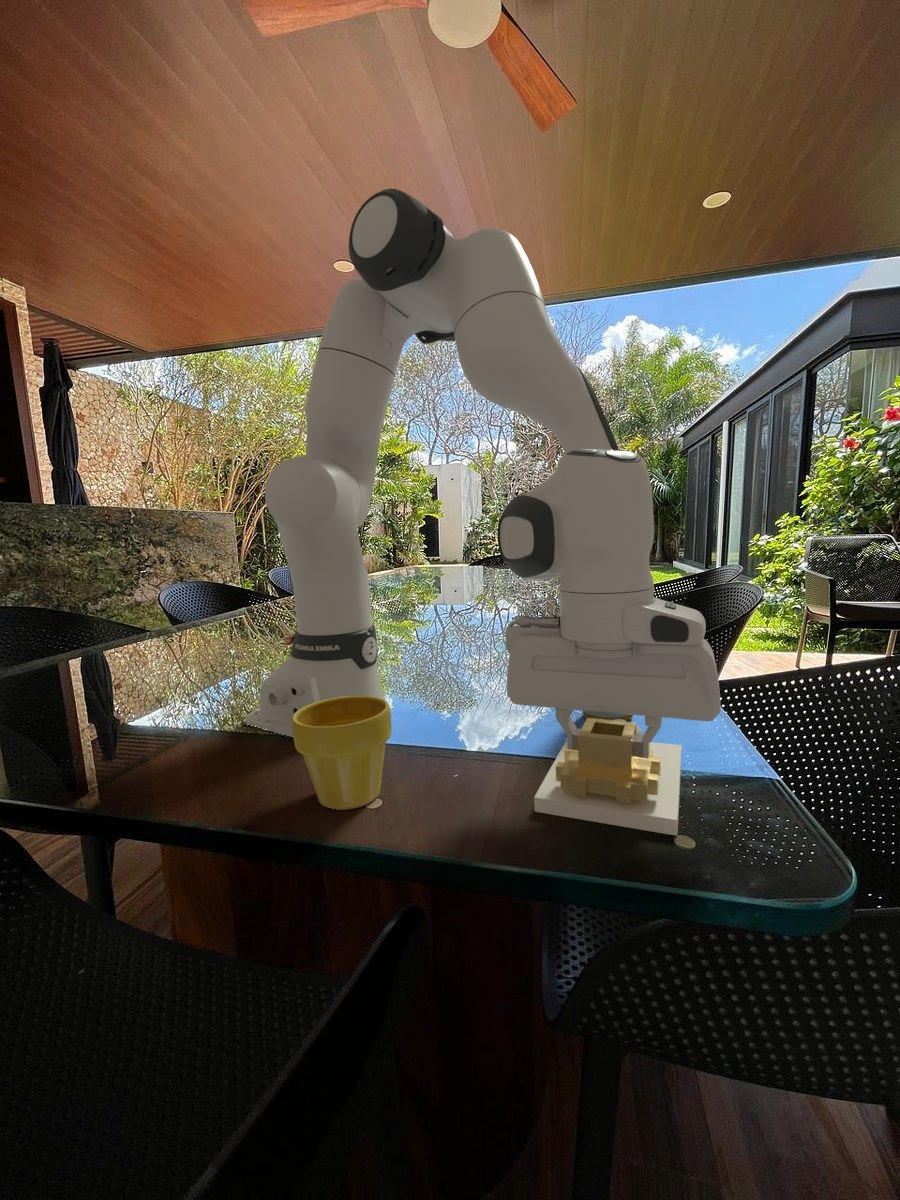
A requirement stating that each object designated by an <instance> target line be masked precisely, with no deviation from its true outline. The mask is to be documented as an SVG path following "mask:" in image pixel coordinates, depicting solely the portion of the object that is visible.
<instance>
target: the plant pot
mask: <svg viewBox="0 0 900 1200" xmlns="http://www.w3.org/2000/svg"><path fill="white" fill-rule="evenodd" d="M385 700H386V699H385ZM385 700H384V699H381V698H378V697H373V696H344V697H336V698H331V699H326V700H322V701H318V702H315V703H312V704H309V705H307V706H305V707H303V708H301V709H299V710H298V711H296V712H295V713H294V715H293V716H292V729H293V737H294V738H293V742H294V747H295V750H296V751H297V752H298V753H299V754H301V755H302V756H303V759H304V762H305V765H306V768H307V771H308V773H309V776H310V780H311V782H312V784H313V788H314V790H315V793H316V796H317V800H318V802H319V804H320V805H322V807H324V806H325V807H324V808H326V807H327V809H329V808H331V809H330V810H334V809H336V811H346V810H347V811H348V809H349V810H354V809H358V808H361V807H364V806H366V805H368V804H371V803H372V802H373V801H375V800H376V799H377V798H378V796H379V795H380V792H381V786H382V777H383V769H384V762H385V761H384V760H385V754H386V753H385V752H386V743H387V742H388V740H389V739H390V738H391V736H392V714H391V706H390V703H389V702H388V701H387V700H386V701H385Z"/></svg>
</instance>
